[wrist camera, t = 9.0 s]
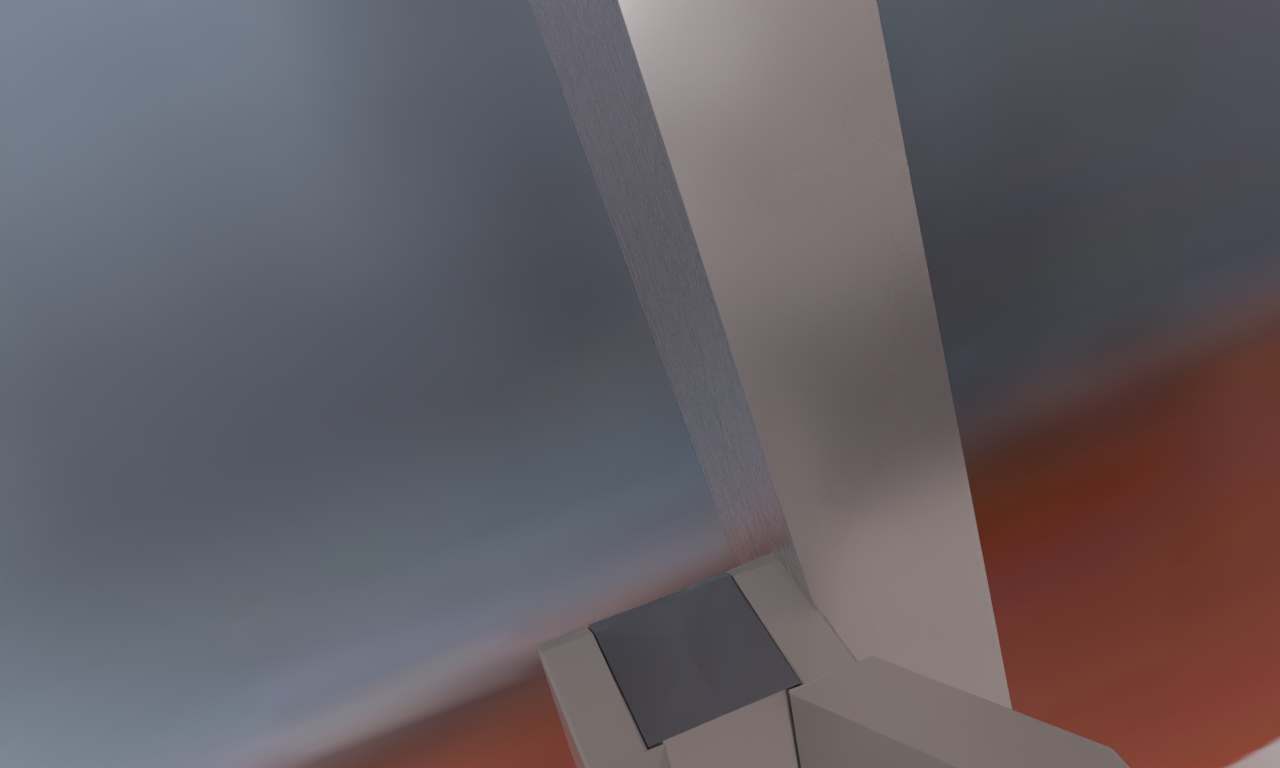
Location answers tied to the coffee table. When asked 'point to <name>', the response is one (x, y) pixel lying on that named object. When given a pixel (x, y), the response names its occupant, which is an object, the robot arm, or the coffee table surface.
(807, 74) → the grey square bar
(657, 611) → the robot arm
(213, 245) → the coffee table surface
